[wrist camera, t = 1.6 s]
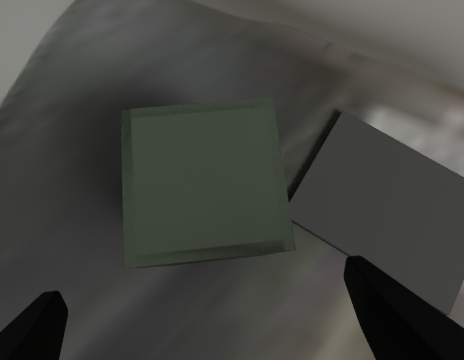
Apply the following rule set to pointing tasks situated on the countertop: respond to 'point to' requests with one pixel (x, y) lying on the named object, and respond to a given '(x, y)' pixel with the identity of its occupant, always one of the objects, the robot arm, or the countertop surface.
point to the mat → (386, 209)
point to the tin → (203, 183)
